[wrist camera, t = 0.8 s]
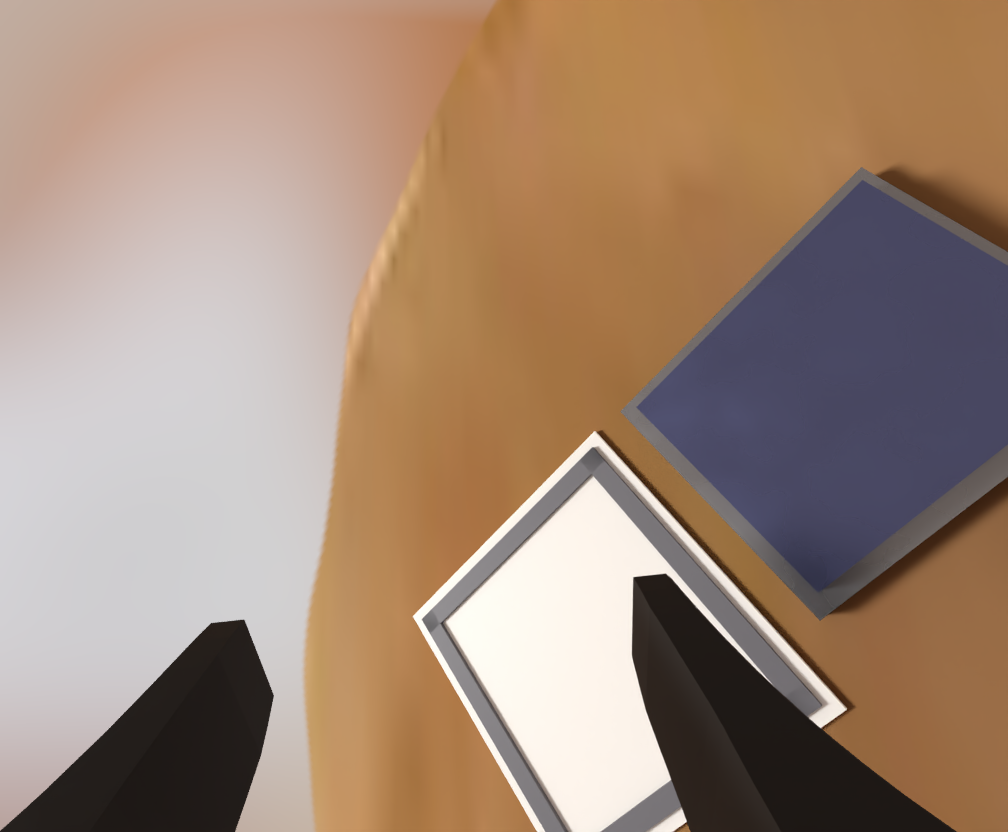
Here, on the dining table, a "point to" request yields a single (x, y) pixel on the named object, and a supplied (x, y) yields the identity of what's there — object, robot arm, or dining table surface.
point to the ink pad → (845, 392)
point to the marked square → (587, 645)
